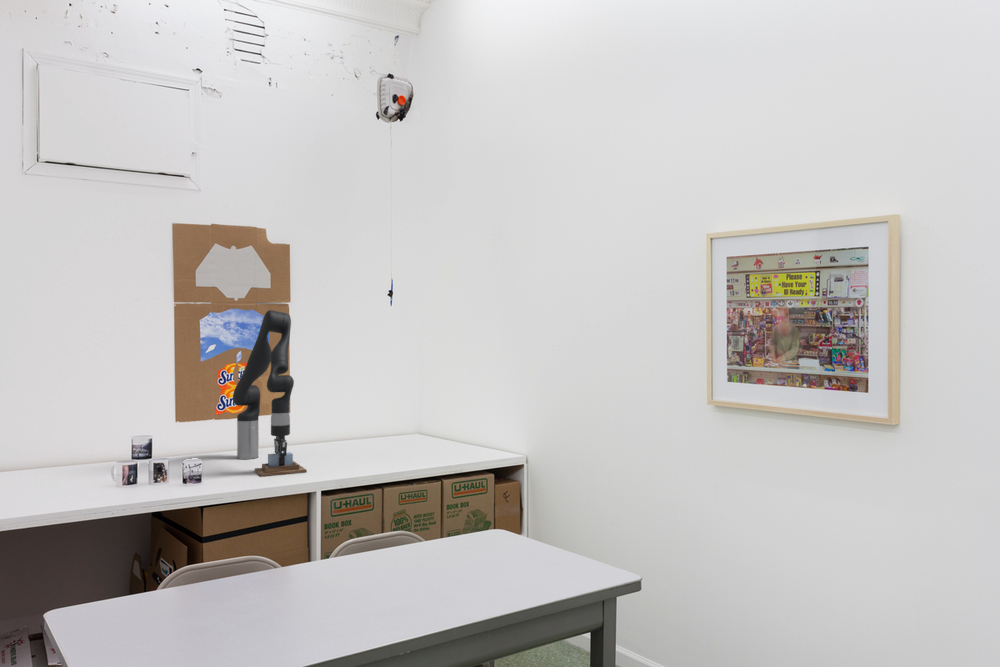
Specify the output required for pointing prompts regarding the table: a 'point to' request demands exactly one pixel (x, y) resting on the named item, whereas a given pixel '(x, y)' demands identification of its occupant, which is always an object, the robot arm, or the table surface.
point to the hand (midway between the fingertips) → (280, 464)
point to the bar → (274, 459)
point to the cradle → (280, 470)
